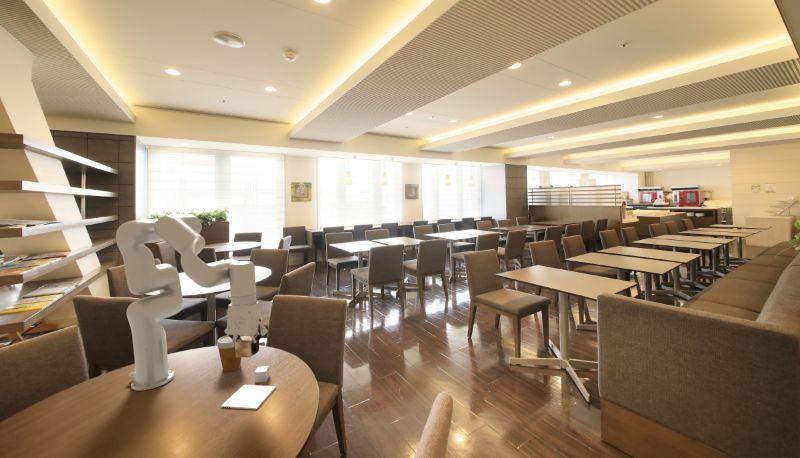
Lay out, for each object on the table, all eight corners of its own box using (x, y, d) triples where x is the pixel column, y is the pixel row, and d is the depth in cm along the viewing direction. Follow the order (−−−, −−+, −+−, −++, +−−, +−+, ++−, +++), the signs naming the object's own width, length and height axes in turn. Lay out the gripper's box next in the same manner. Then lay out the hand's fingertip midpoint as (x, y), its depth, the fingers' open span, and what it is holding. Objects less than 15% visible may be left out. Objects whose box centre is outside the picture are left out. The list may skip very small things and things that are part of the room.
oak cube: (235, 357, 104) (234, 342, 104) (245, 350, 109) (244, 335, 109) (250, 357, 104) (249, 342, 103) (258, 350, 109) (257, 336, 108)
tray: (221, 407, 102) (221, 405, 102) (244, 386, 114) (244, 384, 114) (256, 409, 101) (256, 407, 101) (275, 387, 113) (275, 385, 113)
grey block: (255, 382, 117) (254, 372, 116) (258, 377, 121) (257, 366, 120) (266, 381, 117) (265, 371, 117) (269, 376, 121) (268, 365, 121)
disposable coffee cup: (249, 362, 132) (248, 333, 131) (235, 374, 123) (233, 343, 122) (228, 361, 133) (226, 333, 132) (212, 373, 124) (210, 343, 123)
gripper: (212, 302, 102) (216, 357, 104) (262, 303, 100) (265, 359, 102) (227, 295, 110) (230, 347, 111) (274, 296, 108) (277, 348, 109)
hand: (247, 352), depth 107 cm, fingers closed on oak cube, 5 cm apart
